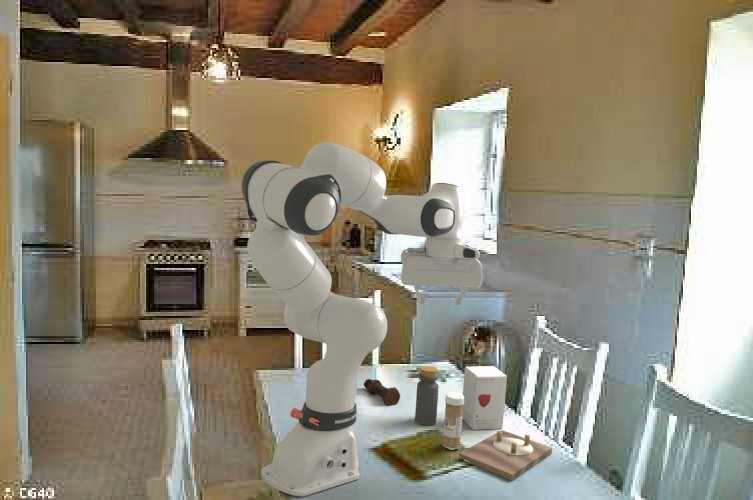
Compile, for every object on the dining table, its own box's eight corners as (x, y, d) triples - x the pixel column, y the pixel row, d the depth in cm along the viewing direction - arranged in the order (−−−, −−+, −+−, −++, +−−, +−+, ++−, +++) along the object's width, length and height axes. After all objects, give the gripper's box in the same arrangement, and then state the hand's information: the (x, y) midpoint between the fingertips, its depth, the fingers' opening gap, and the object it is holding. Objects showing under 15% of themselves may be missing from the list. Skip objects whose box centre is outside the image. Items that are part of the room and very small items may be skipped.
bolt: (369, 394, 184) (394, 410, 172) (357, 388, 182) (381, 403, 169) (377, 377, 186) (403, 391, 173) (366, 371, 183) (391, 385, 170)
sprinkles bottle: (438, 446, 145) (441, 394, 144) (450, 441, 148) (453, 390, 147) (452, 453, 142) (456, 399, 141) (464, 448, 145) (468, 395, 144)
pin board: (512, 480, 130) (513, 463, 129) (459, 459, 139) (460, 443, 139) (551, 453, 145) (553, 438, 144) (501, 435, 154) (502, 420, 153)
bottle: (435, 427, 157) (438, 372, 155) (413, 424, 158) (416, 370, 157) (437, 419, 163) (440, 366, 161) (416, 416, 164) (419, 364, 162)
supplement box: (472, 430, 156) (476, 376, 154) (460, 417, 165) (463, 365, 163) (503, 429, 158) (508, 375, 157) (489, 416, 167) (493, 365, 165)
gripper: (402, 248, 142) (399, 304, 143) (486, 252, 143) (482, 308, 144) (400, 246, 148) (397, 299, 149) (480, 249, 149) (476, 303, 150)
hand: (439, 304), depth 147 cm, fingers open, 8 cm apart
